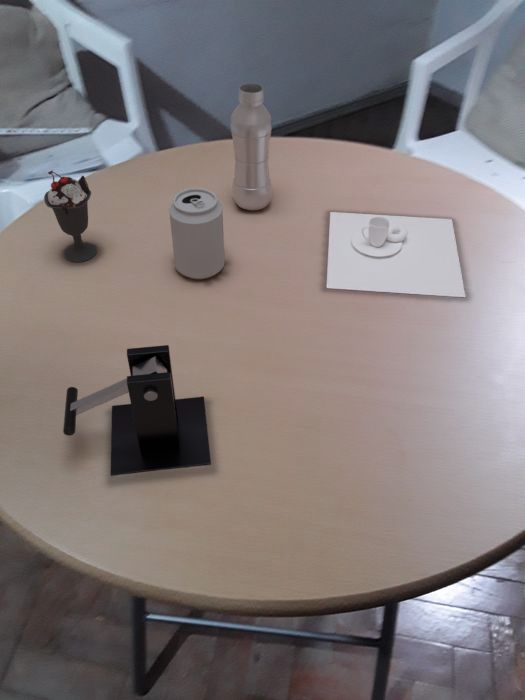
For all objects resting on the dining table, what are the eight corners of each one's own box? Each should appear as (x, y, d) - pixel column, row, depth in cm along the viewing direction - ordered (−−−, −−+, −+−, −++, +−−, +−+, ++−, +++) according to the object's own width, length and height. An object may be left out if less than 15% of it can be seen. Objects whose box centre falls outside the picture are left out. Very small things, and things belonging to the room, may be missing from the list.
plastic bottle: (260, 219, 112) (260, 101, 98) (225, 208, 114) (220, 91, 100) (278, 200, 116) (281, 85, 102) (244, 190, 118) (242, 75, 104)
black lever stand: (112, 480, 75) (92, 405, 66) (113, 412, 82) (95, 335, 73) (211, 469, 76) (205, 393, 67) (204, 402, 83) (197, 326, 74)
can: (207, 246, 106) (203, 178, 98) (234, 270, 102) (232, 201, 93) (165, 263, 103) (157, 194, 95) (192, 289, 99) (186, 219, 90)
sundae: (53, 265, 102) (30, 177, 92) (64, 239, 107) (43, 152, 97) (97, 266, 102) (78, 178, 92) (106, 240, 107) (89, 153, 97)
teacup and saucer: (405, 231, 109) (409, 209, 107) (408, 261, 104) (412, 239, 101) (350, 227, 110) (353, 206, 107) (350, 257, 104) (353, 235, 101)
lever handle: (71, 440, 72) (57, 428, 71) (74, 398, 77) (61, 386, 75) (168, 397, 70) (156, 384, 68) (166, 356, 74) (154, 343, 72)
